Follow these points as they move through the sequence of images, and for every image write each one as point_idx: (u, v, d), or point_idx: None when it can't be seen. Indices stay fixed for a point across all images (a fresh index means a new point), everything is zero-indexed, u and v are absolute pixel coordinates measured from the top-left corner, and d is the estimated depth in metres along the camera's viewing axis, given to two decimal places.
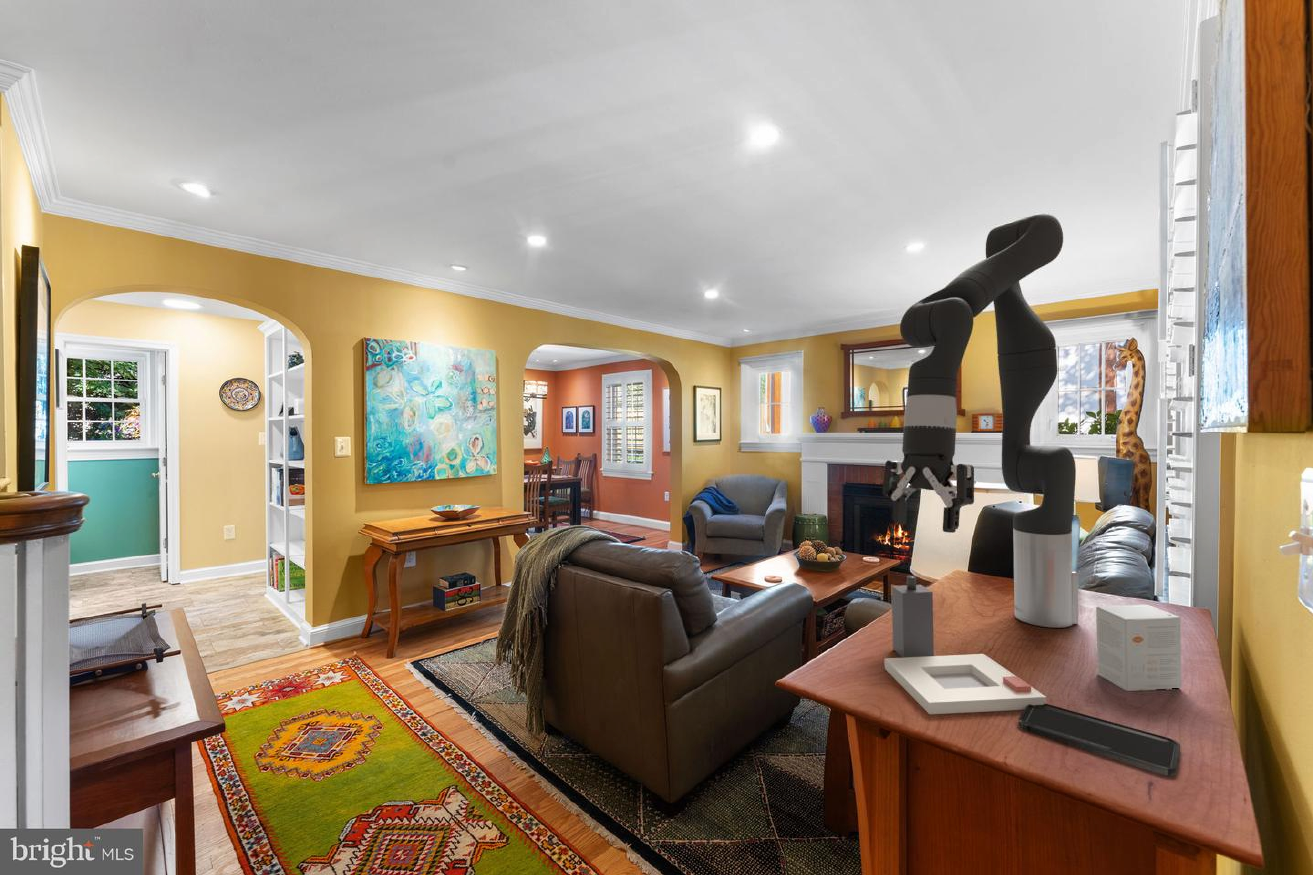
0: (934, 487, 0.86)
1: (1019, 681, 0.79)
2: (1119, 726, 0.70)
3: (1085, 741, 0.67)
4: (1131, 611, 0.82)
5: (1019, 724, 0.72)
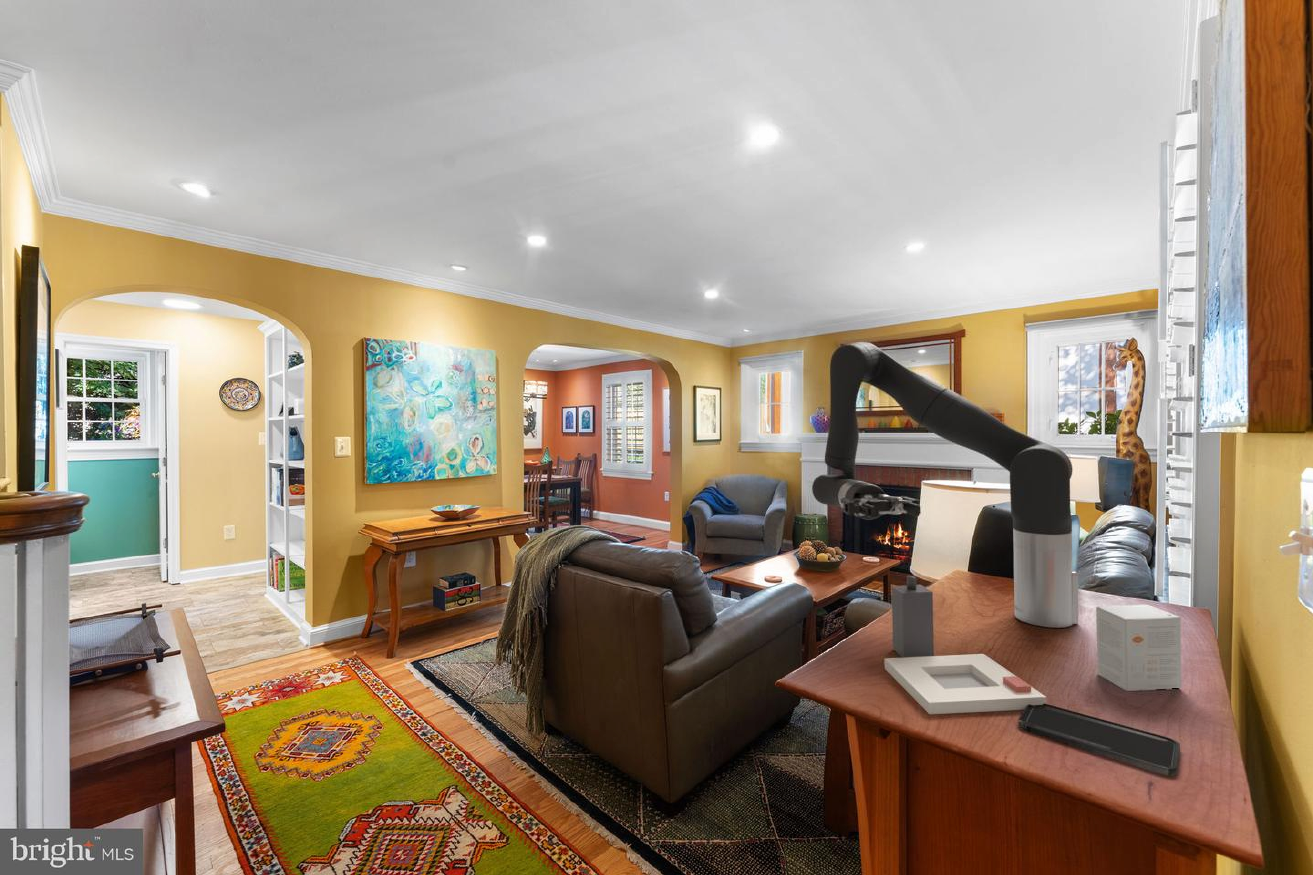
0: None
1: (1019, 681, 0.79)
2: (1119, 726, 0.70)
3: (1085, 741, 0.67)
4: (1131, 611, 0.82)
5: (1019, 724, 0.72)
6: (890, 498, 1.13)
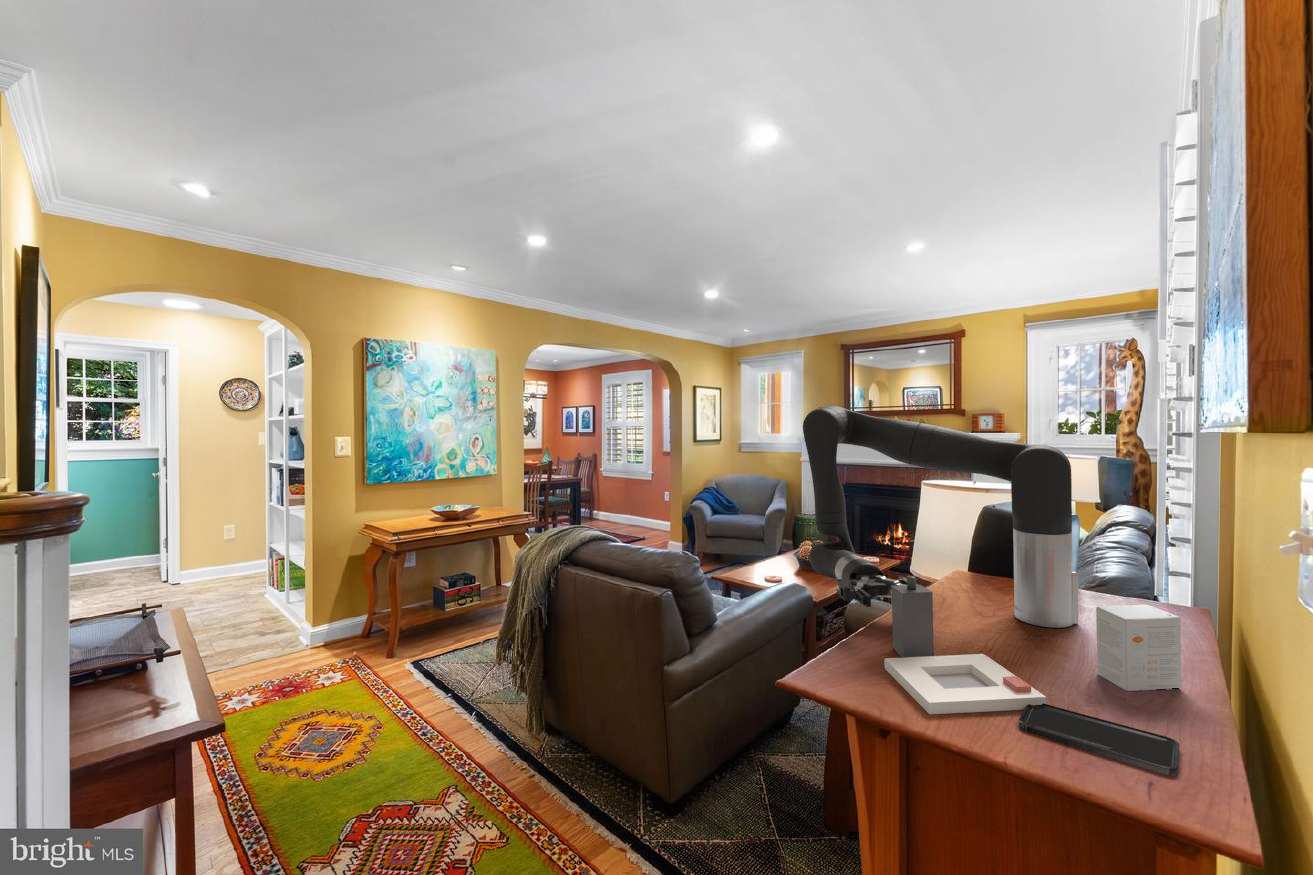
0: None
1: (1019, 681, 0.79)
2: (1118, 725, 0.70)
3: (1086, 741, 0.67)
4: (1131, 611, 0.82)
5: (1019, 725, 0.72)
6: (887, 581, 1.09)
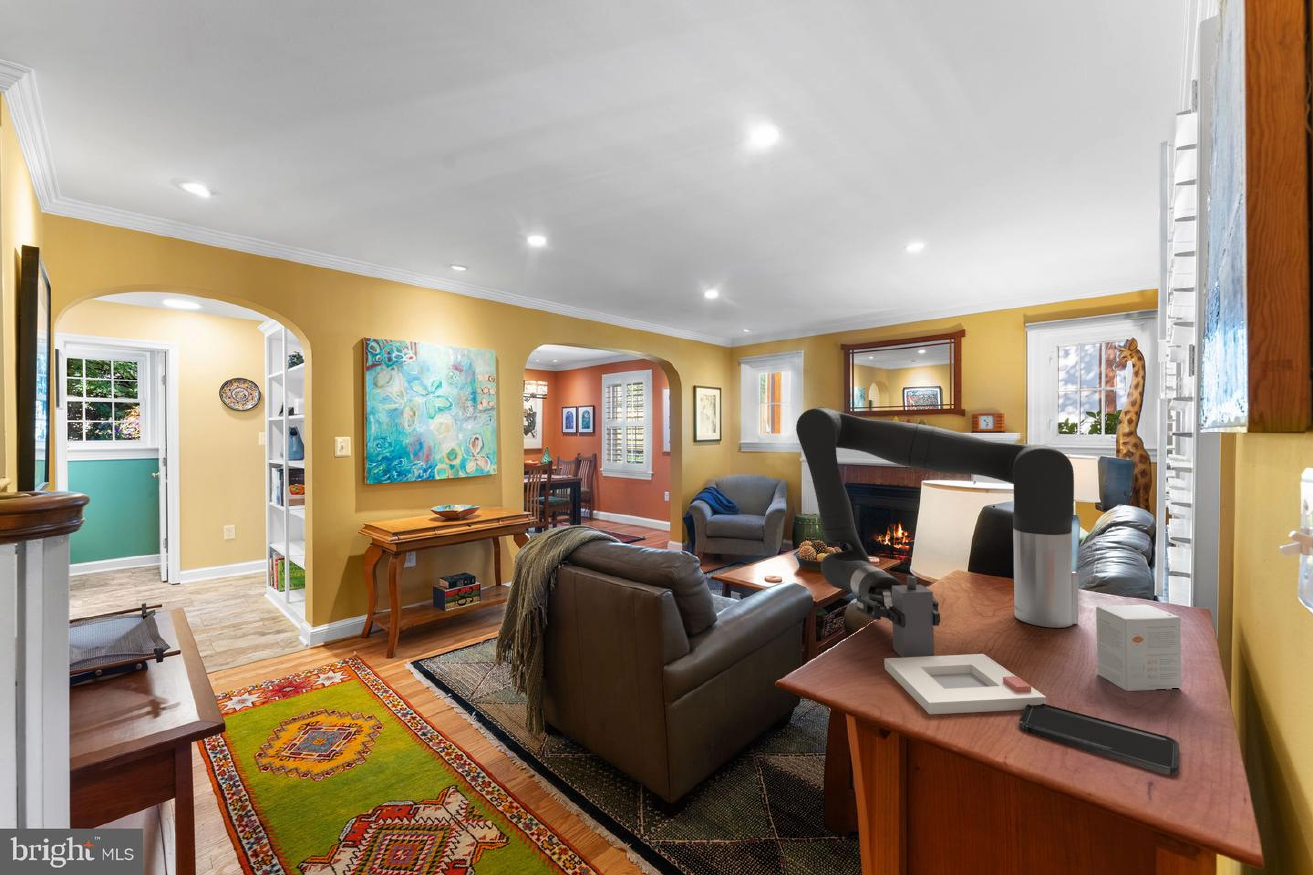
0: None
1: (1019, 681, 0.79)
2: (1117, 725, 0.70)
3: (1086, 741, 0.67)
4: (1131, 611, 0.82)
5: (1020, 725, 0.72)
6: None
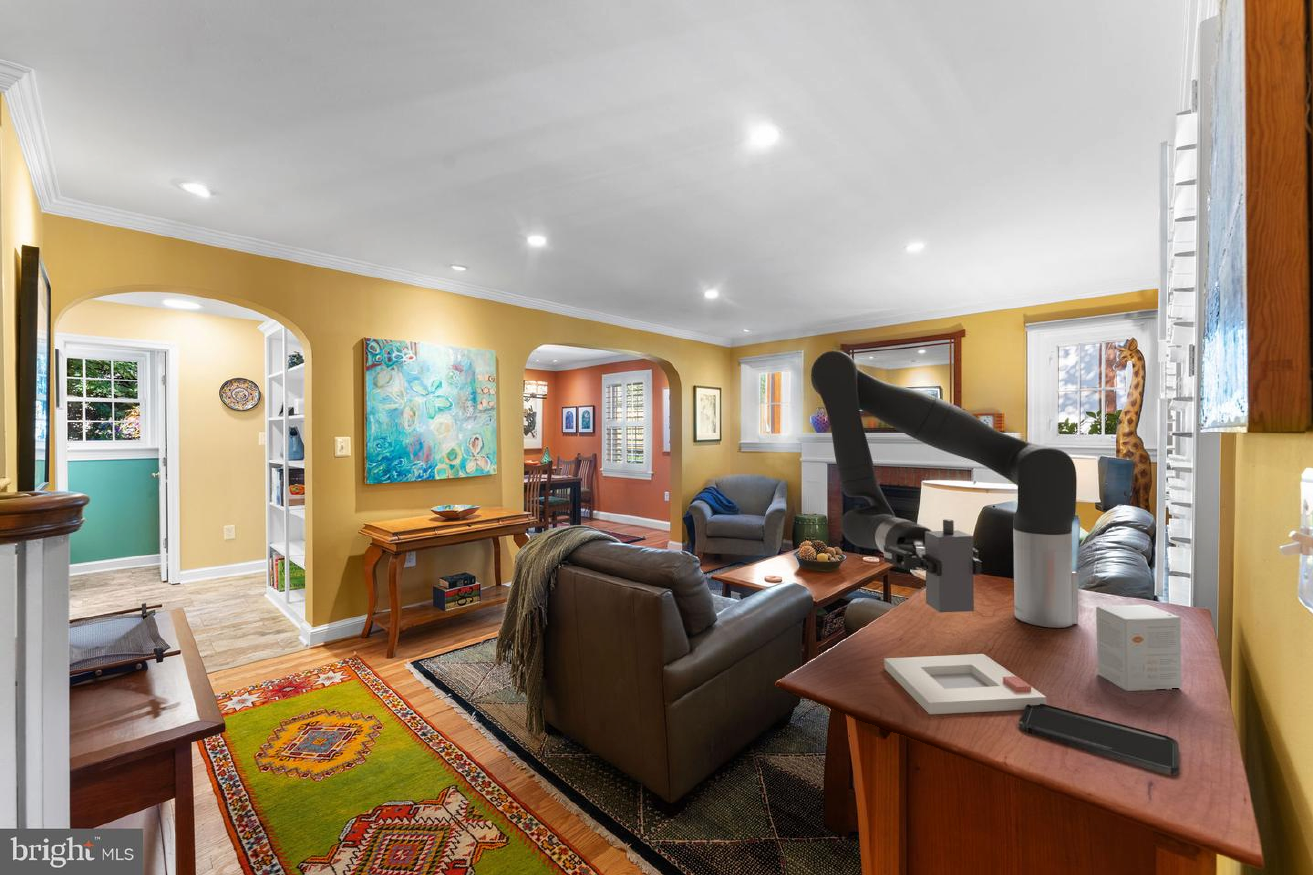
0: None
1: (1019, 681, 0.79)
2: (1117, 725, 0.71)
3: (1087, 742, 0.67)
4: (1131, 611, 0.82)
5: (1020, 726, 0.72)
6: None
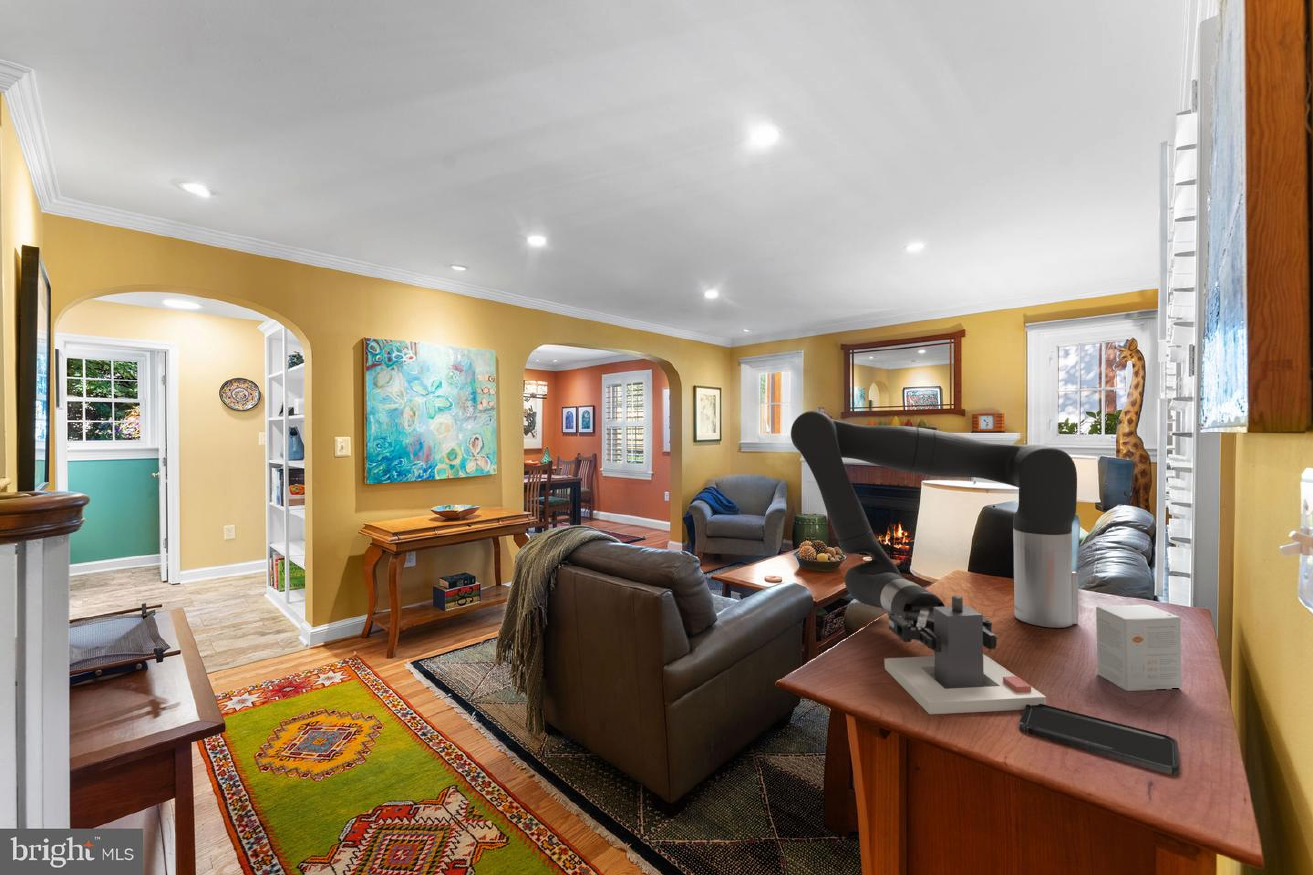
0: None
1: (1019, 681, 0.79)
2: (1116, 725, 0.71)
3: (1088, 742, 0.67)
4: (1131, 611, 0.82)
5: (1021, 727, 0.71)
6: None
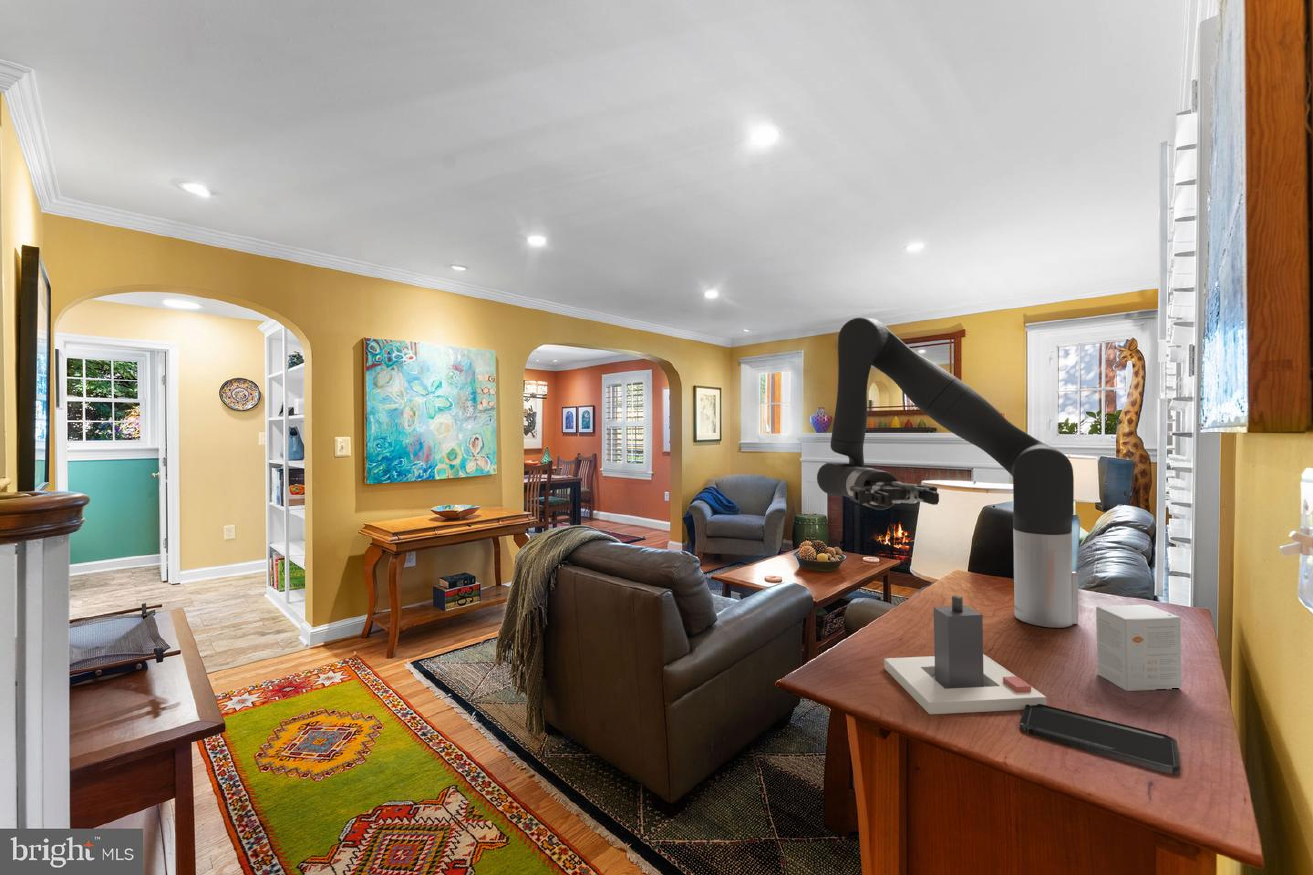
0: None
1: (1019, 681, 0.79)
2: (1116, 724, 0.71)
3: (1088, 742, 0.67)
4: (1131, 611, 0.82)
5: (1021, 727, 0.71)
6: (904, 485, 1.03)
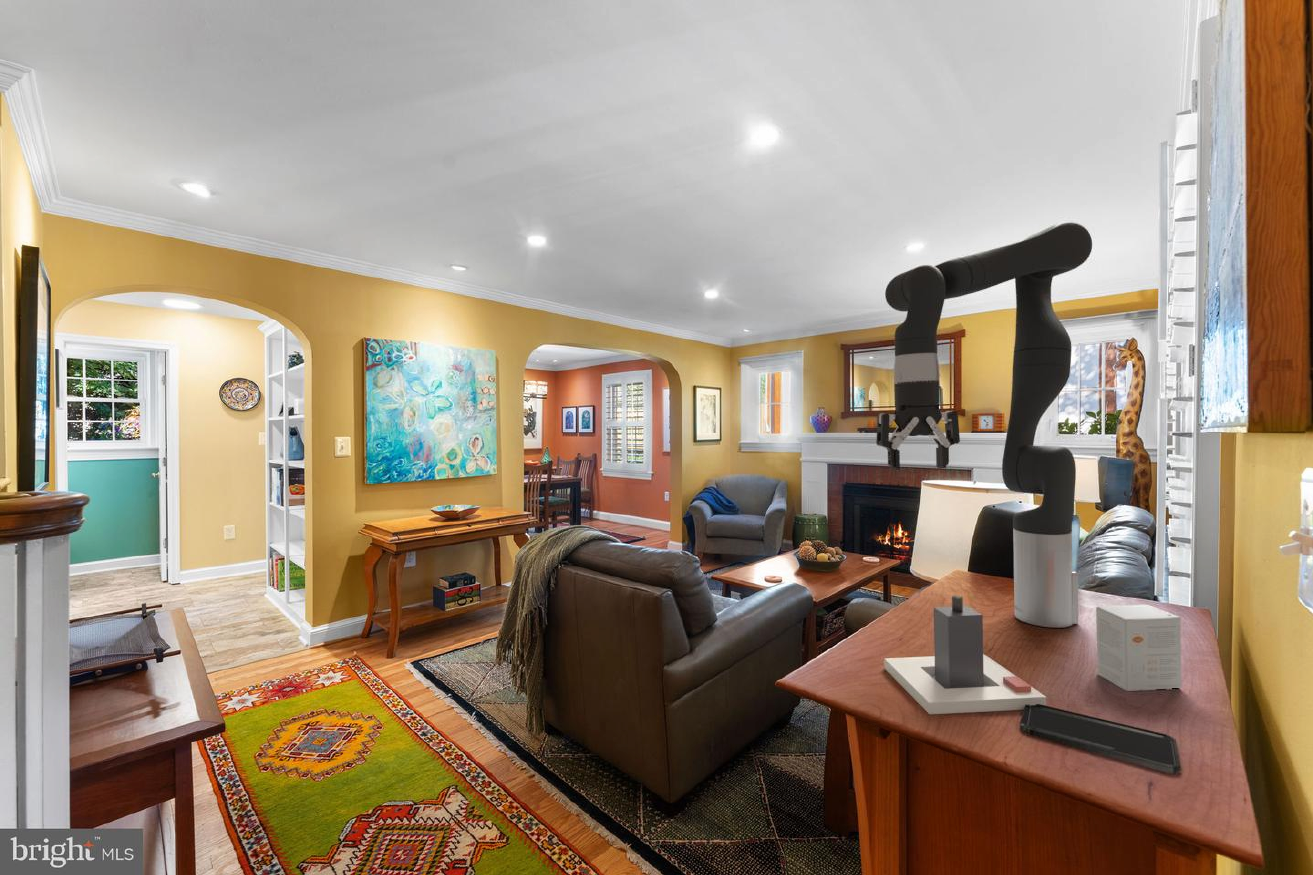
0: (936, 432, 1.01)
1: (1019, 681, 0.79)
2: (1115, 724, 0.71)
3: (1089, 742, 0.67)
4: (1131, 611, 0.82)
5: (1021, 728, 0.71)
6: None
